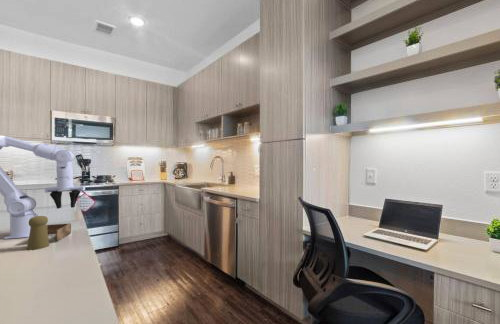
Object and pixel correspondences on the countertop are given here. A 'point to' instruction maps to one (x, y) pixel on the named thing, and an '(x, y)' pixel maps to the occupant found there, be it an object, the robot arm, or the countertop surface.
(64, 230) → the wooden bracket shelf
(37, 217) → the cork
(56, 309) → the countertop surface
